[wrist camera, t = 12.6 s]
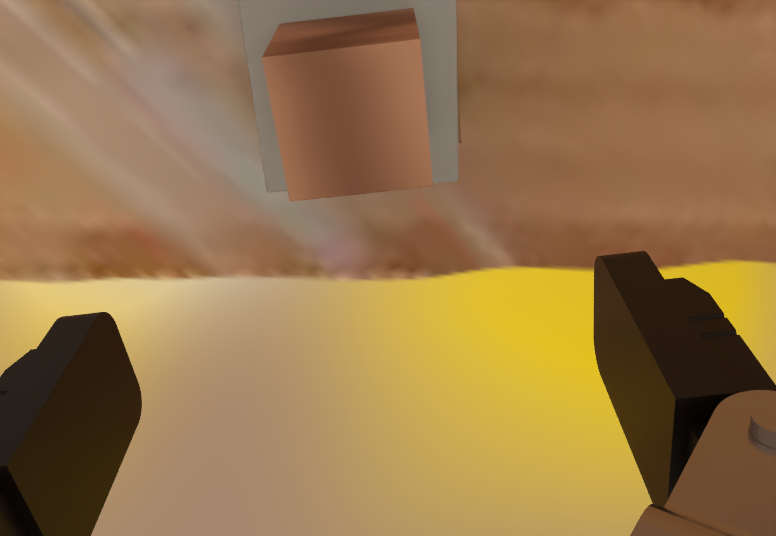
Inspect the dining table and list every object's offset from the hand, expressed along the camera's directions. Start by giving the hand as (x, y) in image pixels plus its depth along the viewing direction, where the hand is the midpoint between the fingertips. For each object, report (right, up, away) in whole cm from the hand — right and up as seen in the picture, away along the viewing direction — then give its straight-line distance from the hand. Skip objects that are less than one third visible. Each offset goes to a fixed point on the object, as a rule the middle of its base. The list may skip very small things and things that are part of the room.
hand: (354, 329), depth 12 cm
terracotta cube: (-1, +8, +16) cm, 18 cm away
